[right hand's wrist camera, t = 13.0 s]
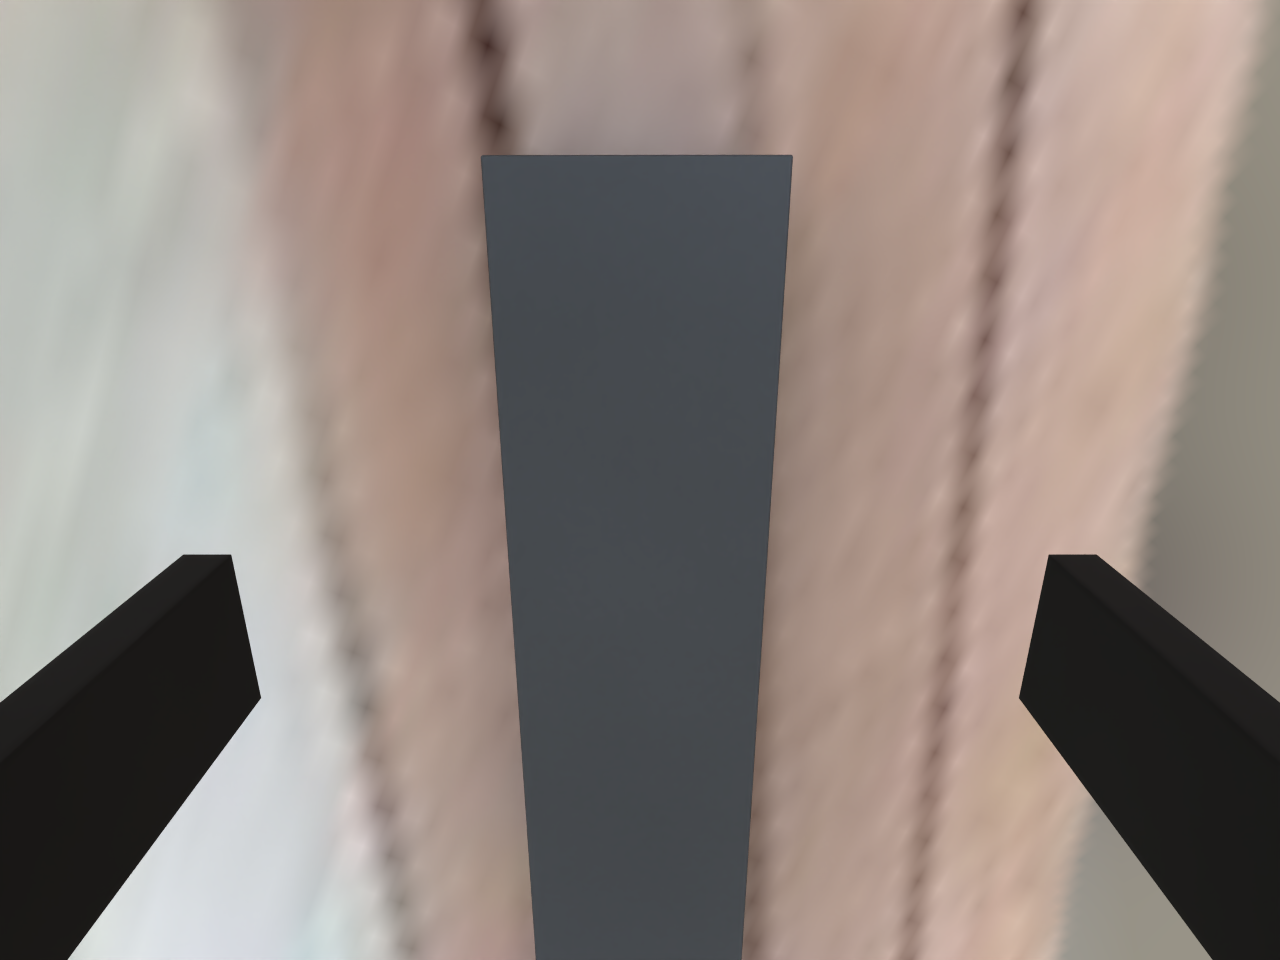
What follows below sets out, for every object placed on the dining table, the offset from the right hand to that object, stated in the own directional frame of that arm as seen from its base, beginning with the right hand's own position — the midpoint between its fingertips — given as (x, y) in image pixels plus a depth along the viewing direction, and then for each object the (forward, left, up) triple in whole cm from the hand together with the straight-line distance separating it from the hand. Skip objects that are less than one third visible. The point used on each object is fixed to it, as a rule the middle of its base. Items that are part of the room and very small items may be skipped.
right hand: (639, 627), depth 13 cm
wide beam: (+25, +11, -23) cm, 36 cm away
